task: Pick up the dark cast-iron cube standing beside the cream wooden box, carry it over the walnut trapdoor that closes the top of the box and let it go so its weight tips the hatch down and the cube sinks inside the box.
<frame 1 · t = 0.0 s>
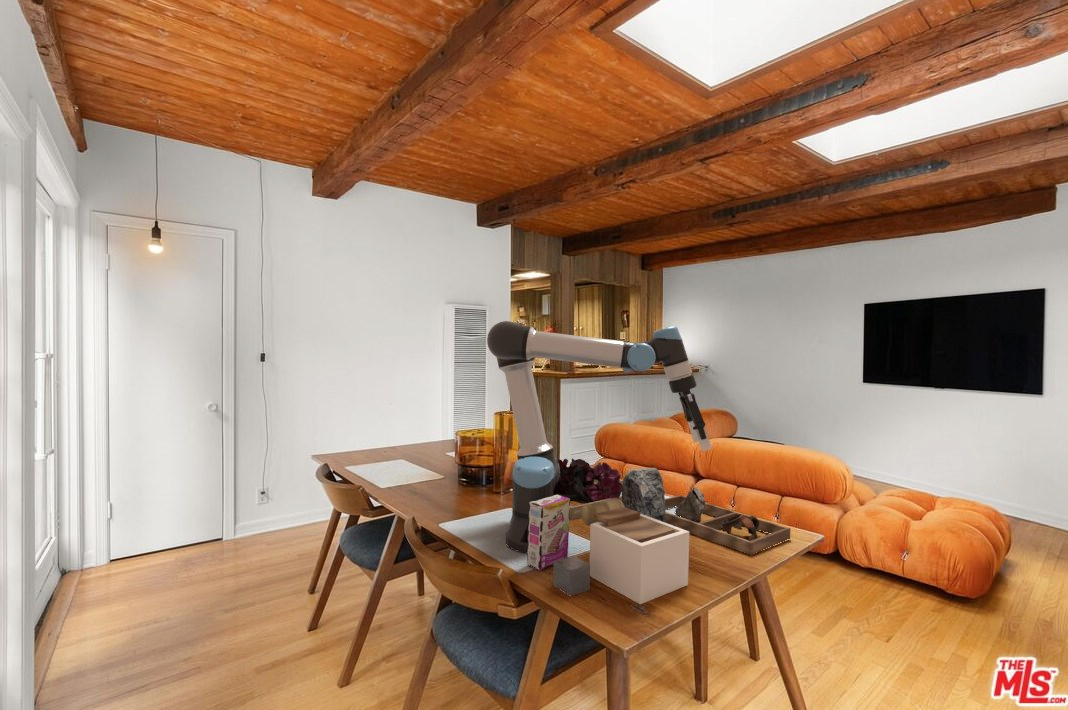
hand: (702, 445, 150), 28 cm above the table, tool tilted 20°, fingers open, 13 cm apart
candy bar box: (548, 563, 131), on the table
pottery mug: (742, 538, 151), resting in walnut tray
concrete fragment: (688, 519, 167), resting in walnut tray
stone block: (645, 534, 153), on the table
iron block: (571, 588, 117), on the table
flower arrangement: (587, 499, 187), resting in florist crate
white open box: (637, 580, 122), on the table
walnut tray: (710, 526, 160), on the table
florist crate: (587, 499, 187), on the table
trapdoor: (624, 520, 126), point 13 cm above the table, hinge at 0.0°
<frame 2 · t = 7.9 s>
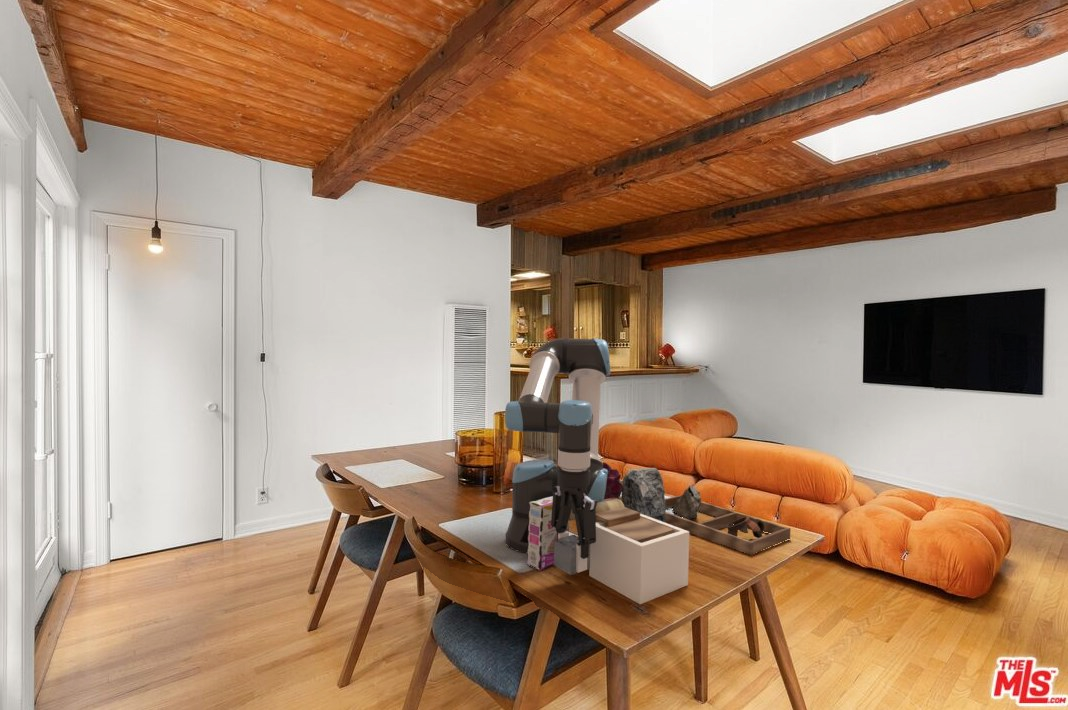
hand: (572, 564, 118), 5 cm above the table, tool pointing down, fingers closed on iron block, 6 cm apart
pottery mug: (748, 542, 149), resting in walnut tray
concrete fragment: (684, 517, 170), resting in walnut tray
iron block: (571, 566, 118), point 5 cm above the table, touching gripper
everything else where it was.
when the fingers open (15 cm above the table, at t = 11.7 s): iron block drops 6 cm and tips over, resting on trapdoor.
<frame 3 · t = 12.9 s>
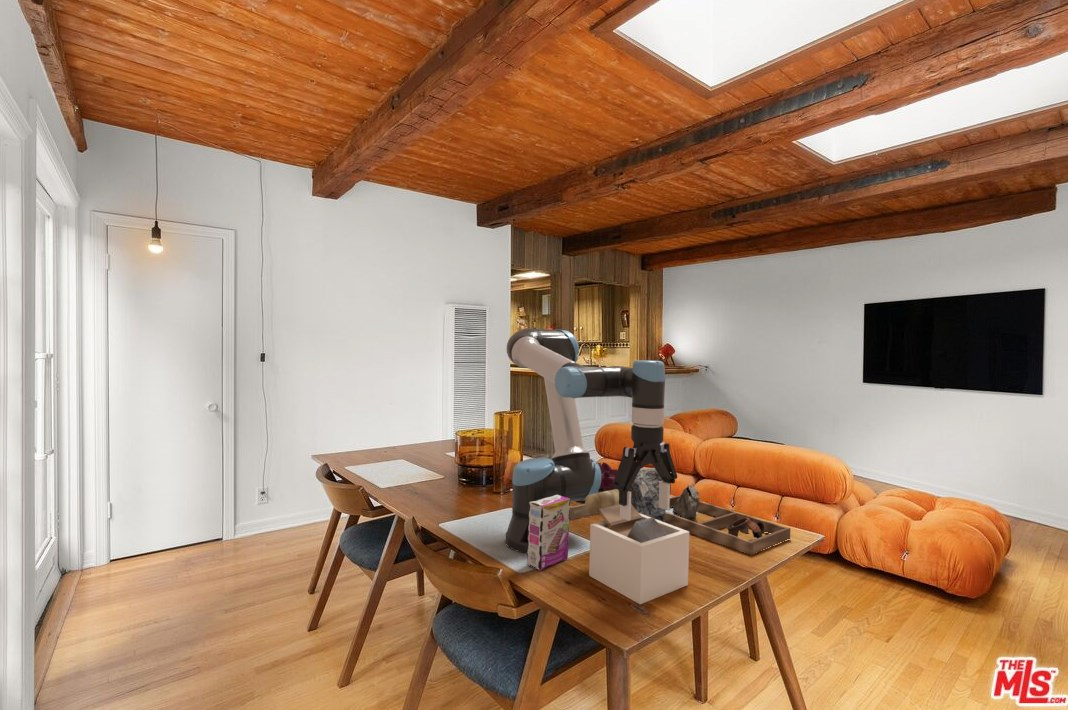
hand: (645, 513, 120), 17 cm above the table, tool pointing down, fingers open, 13 cm apart
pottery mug: (748, 543, 148), resting in walnut tray
iron block: (642, 546, 121), point 9 cm above the table, tilted 31°, touching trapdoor
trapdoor: (625, 523, 125), point 12 cm above the table, hinge at -30.9°, touching iron block
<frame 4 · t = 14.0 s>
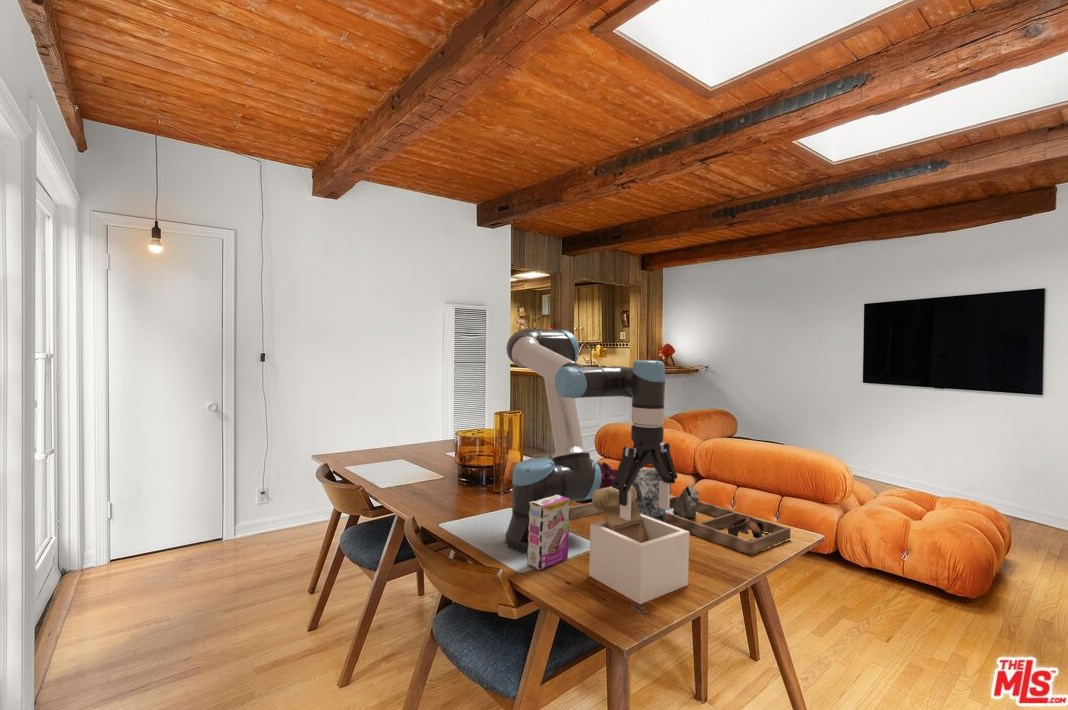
hand: (645, 513, 120), 17 cm above the table, tool pointing down, fingers open, 13 cm apart
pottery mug: (748, 543, 148), resting in walnut tray
iron block: (639, 569, 121), point 3 cm above the table, tilted 90°
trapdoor: (625, 526, 125), point 12 cm above the table, hinge at -58.5°
everything else where it was.
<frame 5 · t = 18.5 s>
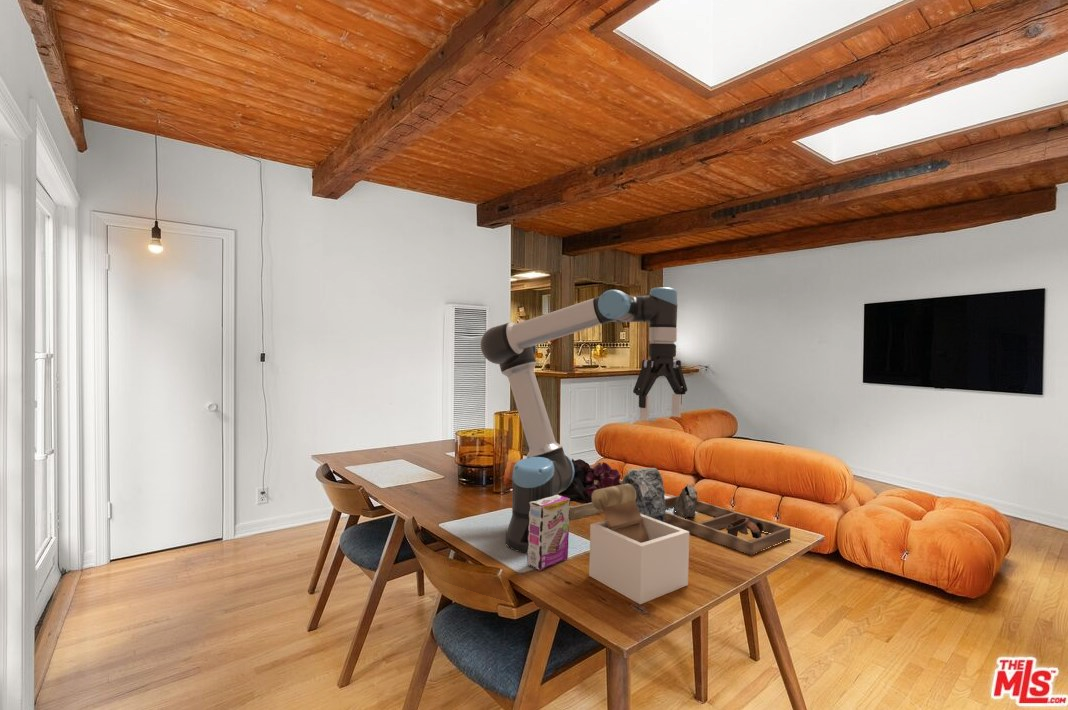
hand: (660, 418, 142), 37 cm above the table, tool pointing down, fingers open, 13 cm apart
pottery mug: (747, 543, 148), resting in walnut tray
flower arrangement: (587, 499, 187), resting in florist crate
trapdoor: (625, 526, 125), point 12 cm above the table, hinge at -57.6°
at the end: iron block point 2.9 cm above the table; iron block inside the target area on the white open box (0.4 cm from its centre), point 2.9 cm above the white open box's base; the gripper is holding nothing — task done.
